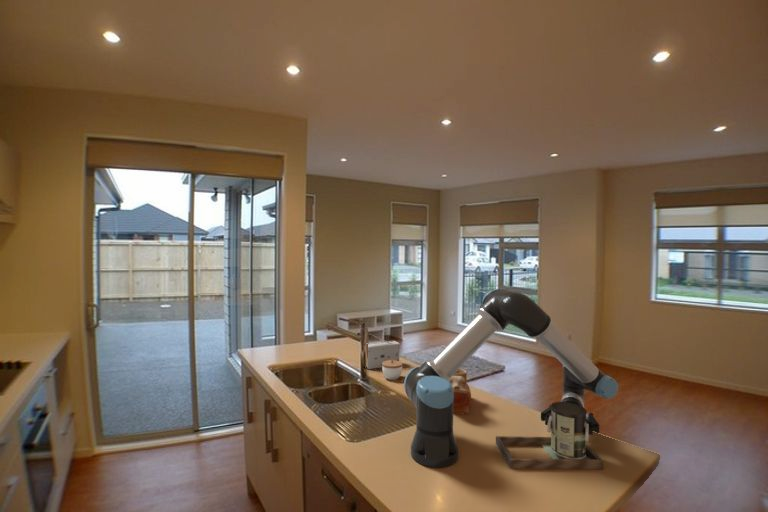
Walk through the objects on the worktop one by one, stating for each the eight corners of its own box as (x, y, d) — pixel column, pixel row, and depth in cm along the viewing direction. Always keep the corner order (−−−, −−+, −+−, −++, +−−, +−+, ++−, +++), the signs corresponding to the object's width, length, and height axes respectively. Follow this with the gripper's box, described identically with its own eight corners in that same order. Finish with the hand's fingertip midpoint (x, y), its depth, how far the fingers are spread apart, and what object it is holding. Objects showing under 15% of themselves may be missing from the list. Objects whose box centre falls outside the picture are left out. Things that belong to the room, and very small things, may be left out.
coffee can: (580, 445, 123) (580, 402, 123) (590, 462, 113) (591, 416, 113) (547, 441, 125) (547, 400, 125) (554, 458, 115) (555, 413, 115)
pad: (559, 466, 113) (559, 465, 113) (541, 445, 126) (541, 444, 126) (597, 467, 113) (597, 466, 113) (576, 446, 126) (576, 445, 126)
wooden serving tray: (510, 468, 112) (510, 460, 112) (495, 443, 127) (495, 436, 127) (603, 469, 112) (603, 461, 112) (577, 444, 127) (577, 437, 127)
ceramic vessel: (437, 417, 147) (437, 379, 147) (439, 392, 173) (439, 360, 172) (473, 420, 144) (473, 381, 144) (469, 395, 170) (469, 362, 170)
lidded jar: (383, 374, 198) (383, 356, 198) (403, 375, 197) (403, 357, 197) (380, 380, 188) (380, 362, 188) (401, 382, 186) (401, 363, 186)
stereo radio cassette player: (394, 362, 221) (394, 328, 220) (400, 366, 213) (401, 331, 213) (361, 366, 212) (362, 331, 211) (367, 370, 204) (367, 334, 204)
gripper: (607, 424, 129) (609, 454, 110) (538, 410, 141) (528, 434, 121) (608, 403, 129) (609, 428, 110) (538, 390, 140) (529, 412, 121)
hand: (567, 432), depth 116 cm, fingers closed on coffee can, 10 cm apart
